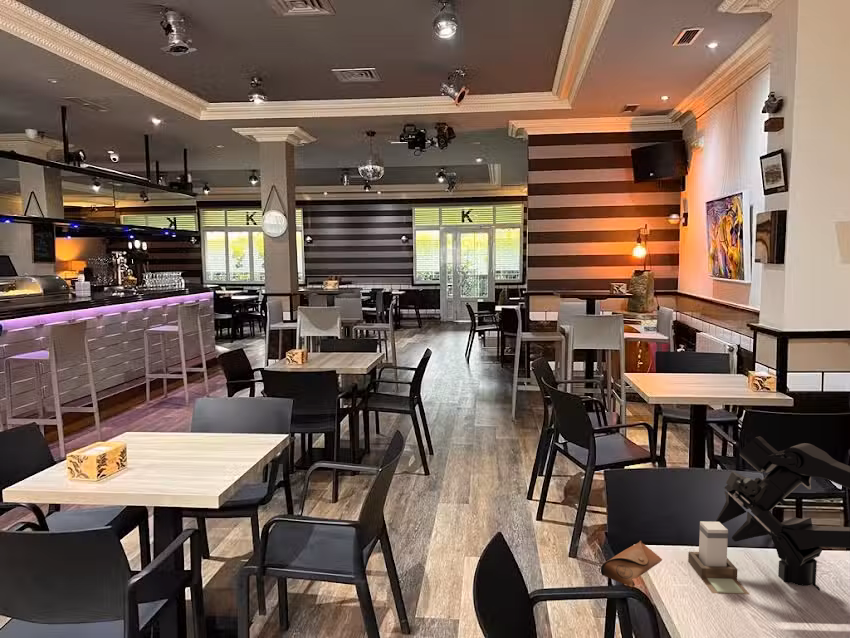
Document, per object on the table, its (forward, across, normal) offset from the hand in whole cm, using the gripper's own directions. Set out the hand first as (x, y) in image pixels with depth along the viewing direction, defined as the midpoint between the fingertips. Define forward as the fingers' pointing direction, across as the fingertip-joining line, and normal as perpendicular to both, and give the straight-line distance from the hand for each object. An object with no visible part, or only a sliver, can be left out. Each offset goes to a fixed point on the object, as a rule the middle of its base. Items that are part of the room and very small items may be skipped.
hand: (724, 531), depth 139 cm
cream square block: (+9, 0, +5) cm, 10 cm away
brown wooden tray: (+9, +3, +5) cm, 11 cm away
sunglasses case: (+22, -1, -7) cm, 23 cm away
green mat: (+9, +7, +6) cm, 13 cm away
